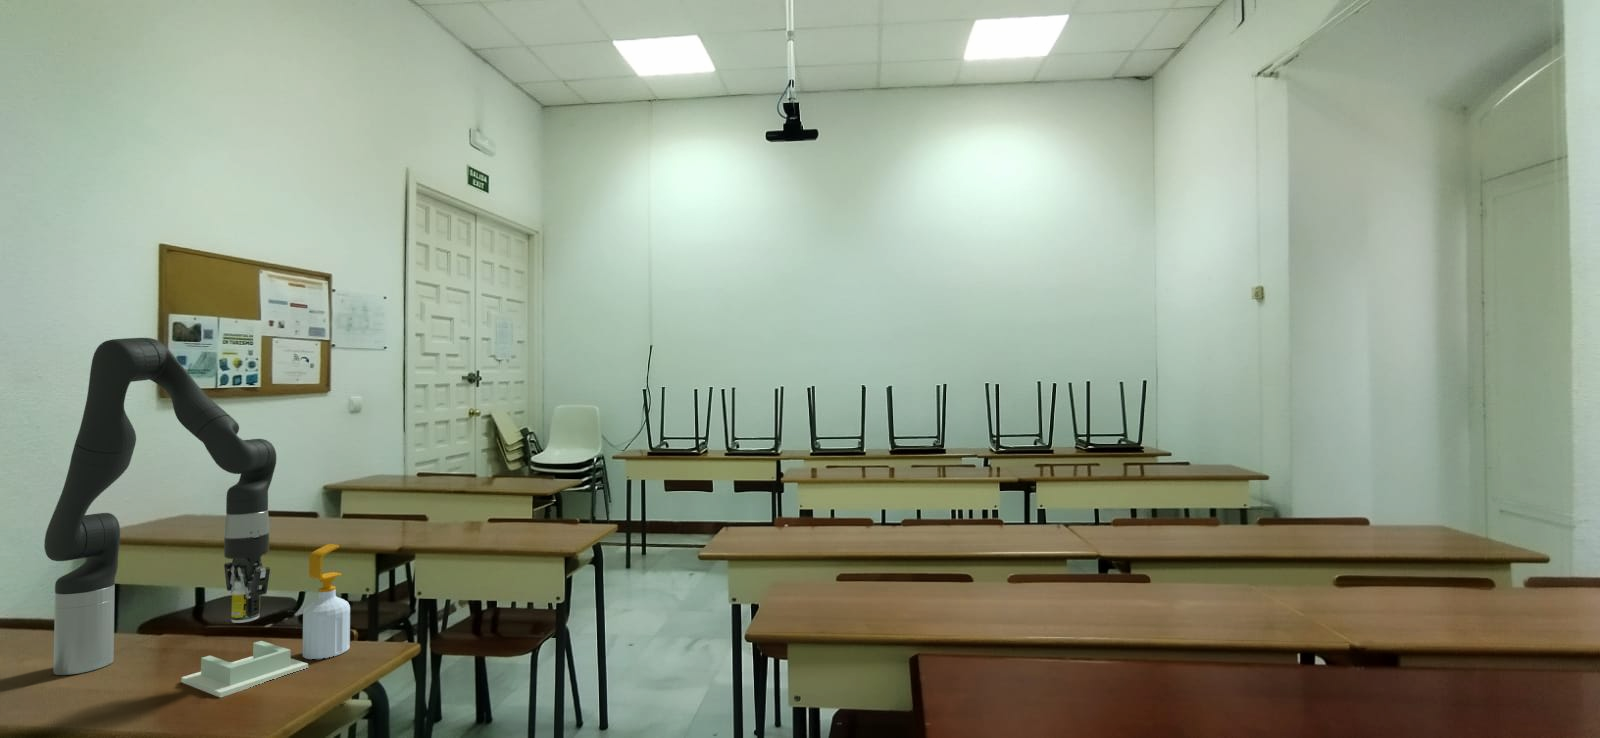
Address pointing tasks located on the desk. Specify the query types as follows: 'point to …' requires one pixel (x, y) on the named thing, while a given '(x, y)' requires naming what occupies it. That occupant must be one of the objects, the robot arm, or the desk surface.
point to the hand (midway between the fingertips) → (246, 613)
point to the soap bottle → (325, 614)
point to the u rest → (243, 670)
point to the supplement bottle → (240, 604)
